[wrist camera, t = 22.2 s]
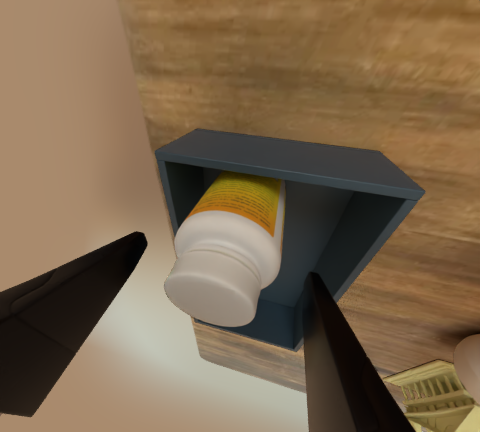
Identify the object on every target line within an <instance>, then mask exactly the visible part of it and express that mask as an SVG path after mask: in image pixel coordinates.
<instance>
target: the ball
mask: <svg viewBox="0 0 480 432" xmlns="http://www.w3.org/2000/svg"><path fill="white" fill-rule="evenodd" d="M453 358H454V368H455V370H456V373H457V375H458V377H459V380H460V381H461V382H462V384H463V385H464V387H465V388H466V390H467V391H468V393H469V394H470V395H471V396H472V397H473V398H474V399H475V400H476V402H477V403H478V404H479V405H480V334H476V335H471V336H468V337H466V338H464V339H463V340H462V341H461V342H460V343H459V344H458V345H457V346H456V348H455V351H454V355H453Z"/></svg>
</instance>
